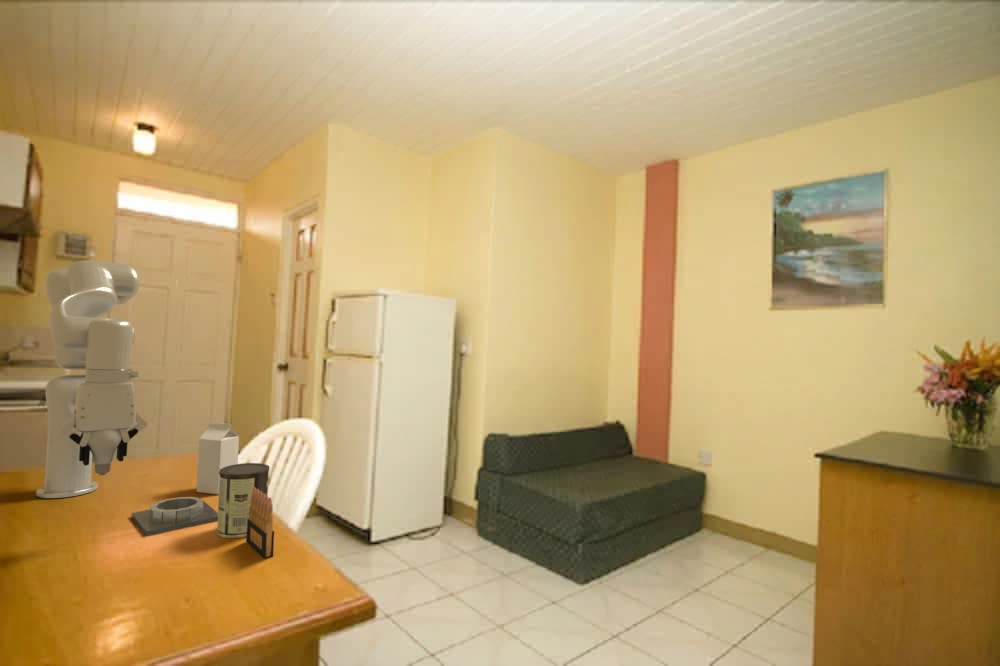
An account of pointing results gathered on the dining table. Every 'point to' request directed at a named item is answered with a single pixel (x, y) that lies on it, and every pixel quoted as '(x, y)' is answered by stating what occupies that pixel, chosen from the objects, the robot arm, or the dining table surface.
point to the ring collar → (174, 515)
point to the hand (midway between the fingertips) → (103, 461)
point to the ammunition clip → (260, 524)
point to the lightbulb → (103, 448)
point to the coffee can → (238, 496)
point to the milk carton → (215, 455)
